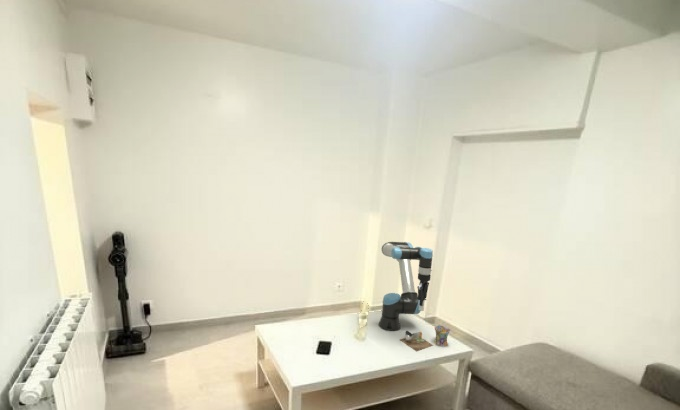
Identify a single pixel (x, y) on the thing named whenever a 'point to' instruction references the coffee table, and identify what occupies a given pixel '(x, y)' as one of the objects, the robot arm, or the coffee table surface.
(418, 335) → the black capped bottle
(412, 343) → the brown picture tile
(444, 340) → the mug
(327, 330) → the coffee table surface
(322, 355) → the coffee table surface
